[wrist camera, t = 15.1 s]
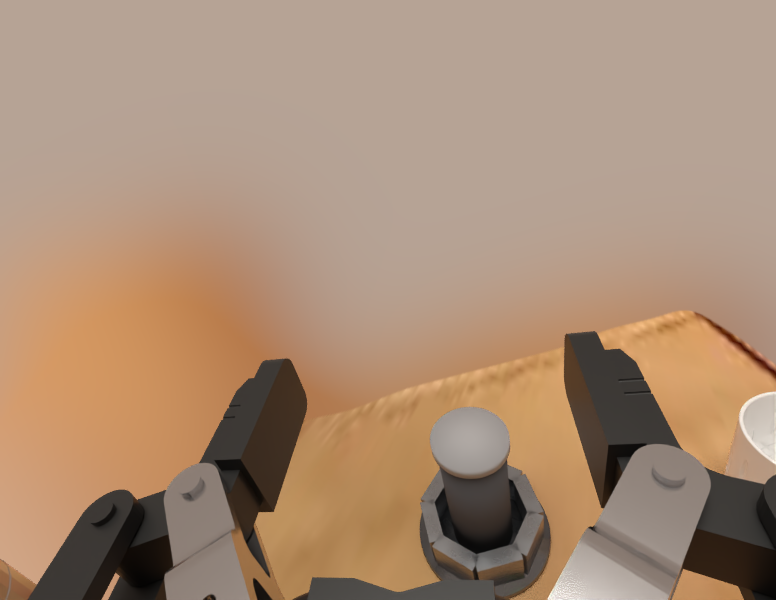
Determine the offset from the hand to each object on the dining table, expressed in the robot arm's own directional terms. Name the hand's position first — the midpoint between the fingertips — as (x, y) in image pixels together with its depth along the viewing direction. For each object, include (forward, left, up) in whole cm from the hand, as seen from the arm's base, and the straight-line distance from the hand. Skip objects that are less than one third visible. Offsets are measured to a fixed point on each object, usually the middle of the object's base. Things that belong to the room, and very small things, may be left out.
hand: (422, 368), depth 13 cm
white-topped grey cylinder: (-6, +10, -29) cm, 31 cm away
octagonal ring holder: (-6, +10, -30) cm, 32 cm away
